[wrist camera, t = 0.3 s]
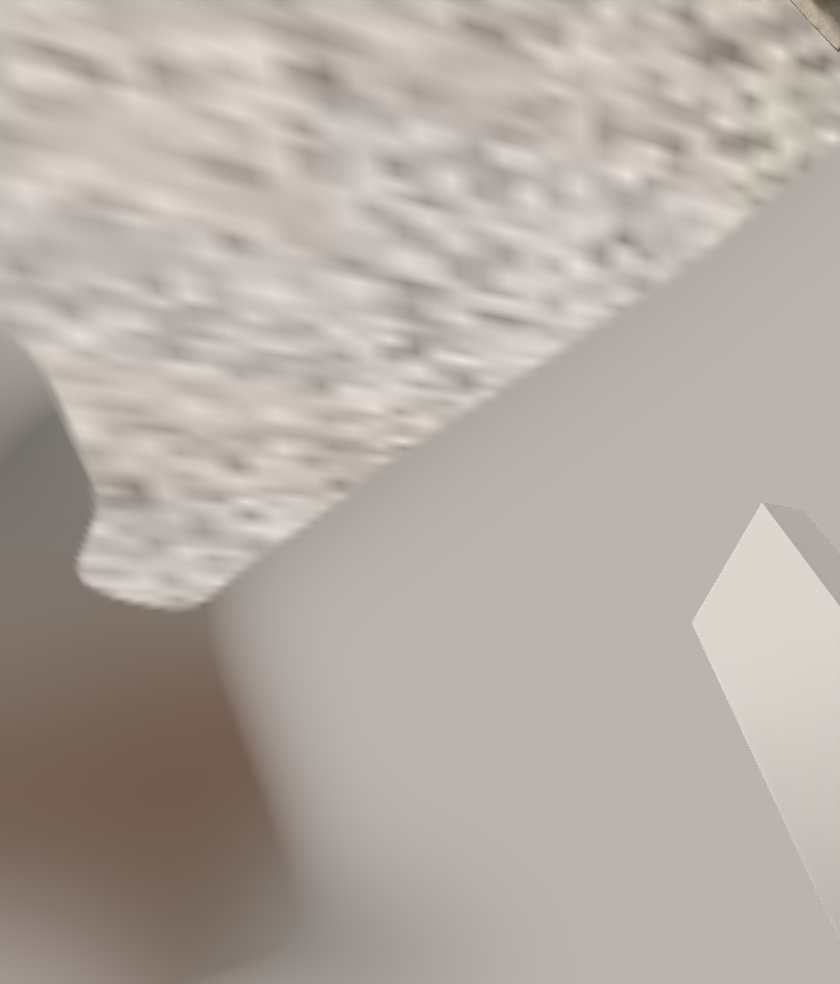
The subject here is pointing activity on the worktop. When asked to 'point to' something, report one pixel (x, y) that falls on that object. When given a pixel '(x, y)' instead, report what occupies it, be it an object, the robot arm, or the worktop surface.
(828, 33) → the condiment
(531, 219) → the worktop surface
